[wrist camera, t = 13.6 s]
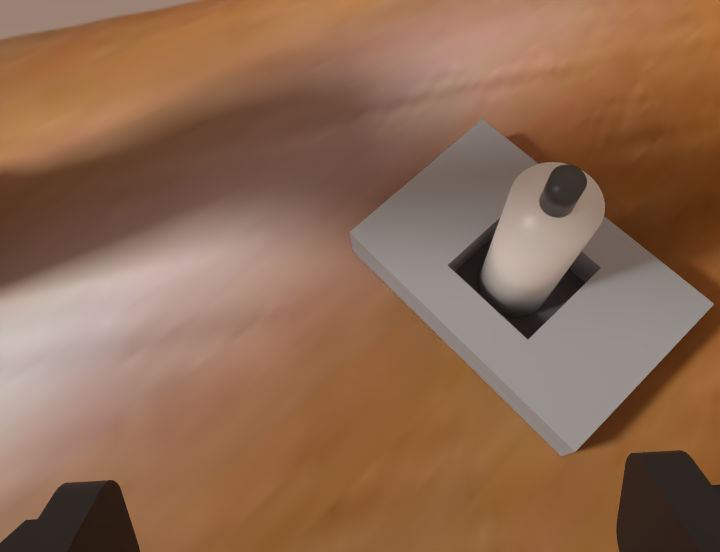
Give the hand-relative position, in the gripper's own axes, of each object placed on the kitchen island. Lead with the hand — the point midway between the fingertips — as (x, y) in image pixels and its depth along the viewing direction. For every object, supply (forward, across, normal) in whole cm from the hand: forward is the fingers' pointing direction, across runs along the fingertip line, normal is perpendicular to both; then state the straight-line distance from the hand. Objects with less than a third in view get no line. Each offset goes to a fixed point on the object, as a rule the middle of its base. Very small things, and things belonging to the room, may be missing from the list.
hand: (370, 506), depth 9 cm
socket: (+27, -9, +10) cm, 30 cm away
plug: (+27, -9, +10) cm, 30 cm away
